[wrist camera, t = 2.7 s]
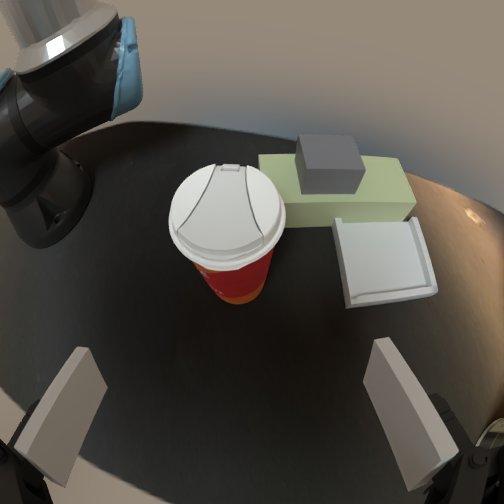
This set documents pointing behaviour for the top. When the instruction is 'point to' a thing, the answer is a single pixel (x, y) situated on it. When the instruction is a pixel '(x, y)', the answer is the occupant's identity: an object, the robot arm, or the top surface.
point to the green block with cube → (356, 216)
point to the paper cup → (228, 227)
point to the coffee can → (492, 435)
